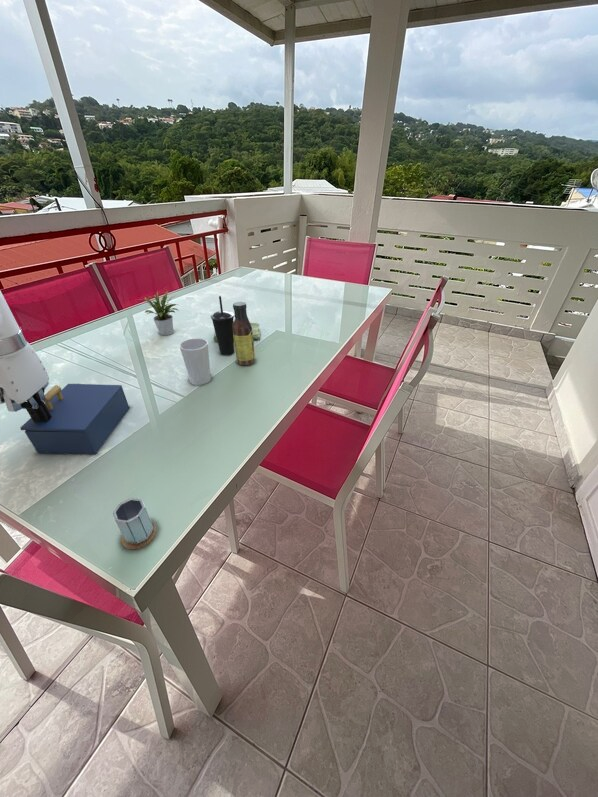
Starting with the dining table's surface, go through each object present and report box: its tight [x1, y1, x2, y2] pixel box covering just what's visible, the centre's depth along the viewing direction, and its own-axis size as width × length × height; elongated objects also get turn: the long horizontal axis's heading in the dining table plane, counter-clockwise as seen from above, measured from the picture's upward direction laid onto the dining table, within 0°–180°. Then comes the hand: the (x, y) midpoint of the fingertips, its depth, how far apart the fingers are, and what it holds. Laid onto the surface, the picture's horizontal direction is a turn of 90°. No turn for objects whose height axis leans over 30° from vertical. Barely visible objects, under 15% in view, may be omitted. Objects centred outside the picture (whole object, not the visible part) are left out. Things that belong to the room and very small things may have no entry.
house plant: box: [139, 290, 179, 336], centre depth 125 cm, size 14×14×16 cm
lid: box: [19, 383, 123, 432], centre depth 77 cm, size 14×18×4 cm
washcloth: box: [213, 322, 261, 342], centre depth 128 cm, size 13×18×3 cm
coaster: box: [120, 520, 157, 551], centre depth 58 cm, size 6×6×1 cm
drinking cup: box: [210, 295, 235, 356], centre depth 111 cm, size 8×8×20 cm
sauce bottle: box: [232, 301, 256, 366], centre depth 106 cm, size 6×6×20 cm
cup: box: [178, 337, 212, 386], centre depth 98 cm, size 8×8×12 cm
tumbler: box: [112, 497, 153, 545], centre depth 56 cm, size 5×5×6 cm
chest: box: [24, 387, 130, 455], centre depth 80 cm, size 13×18×7 cm
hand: (42, 419), depth 73 cm, fingers closed
